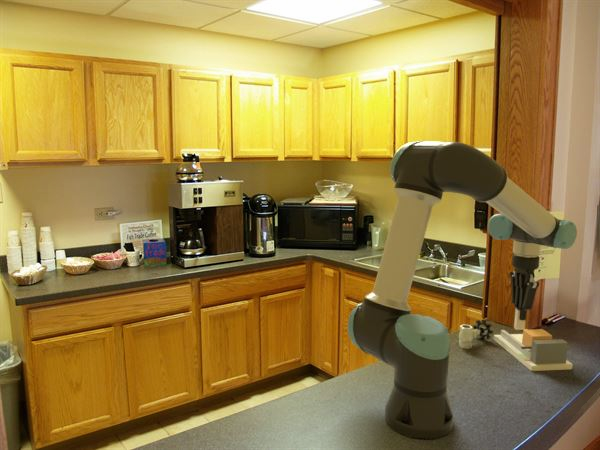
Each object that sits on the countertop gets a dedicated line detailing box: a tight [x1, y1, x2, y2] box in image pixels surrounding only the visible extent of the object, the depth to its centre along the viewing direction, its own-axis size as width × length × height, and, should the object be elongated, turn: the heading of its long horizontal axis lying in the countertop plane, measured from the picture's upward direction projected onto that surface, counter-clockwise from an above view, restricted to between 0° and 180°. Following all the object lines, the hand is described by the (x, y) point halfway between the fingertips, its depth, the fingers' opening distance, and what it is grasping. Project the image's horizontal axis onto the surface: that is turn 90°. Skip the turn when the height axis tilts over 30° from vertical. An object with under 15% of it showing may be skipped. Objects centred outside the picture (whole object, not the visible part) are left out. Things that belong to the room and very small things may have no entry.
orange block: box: [521, 328, 553, 350], centre depth 146 cm, size 12×5×6 cm, turn 95°
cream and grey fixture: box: [493, 328, 574, 372], centre depth 149 cm, size 12×22×8 cm, turn 5°
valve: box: [458, 319, 494, 350], centre depth 156 cm, size 7×7×12 cm
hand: (519, 328), depth 155 cm, fingers closed
